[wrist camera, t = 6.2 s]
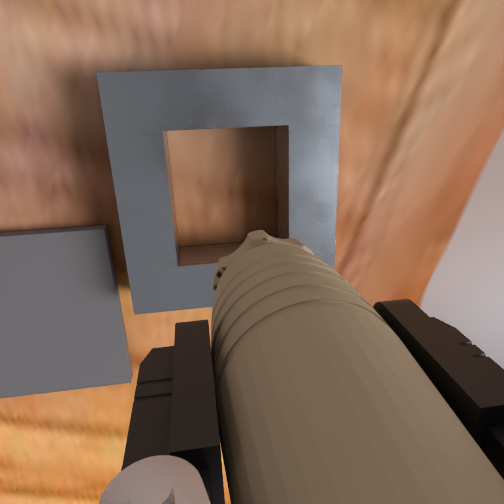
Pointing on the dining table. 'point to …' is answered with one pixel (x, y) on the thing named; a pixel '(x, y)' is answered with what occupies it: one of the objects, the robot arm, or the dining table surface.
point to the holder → (210, 117)
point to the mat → (60, 312)
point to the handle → (327, 393)
